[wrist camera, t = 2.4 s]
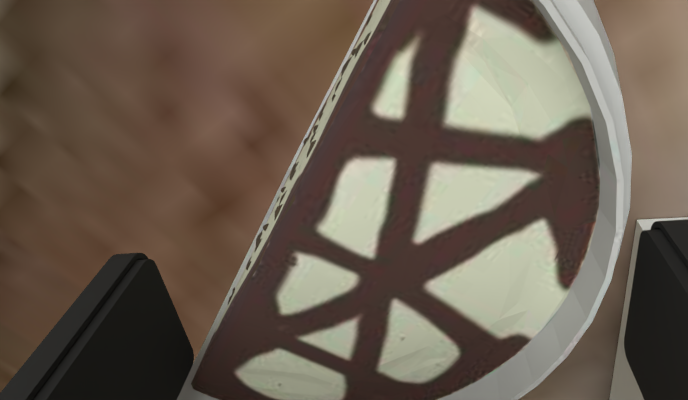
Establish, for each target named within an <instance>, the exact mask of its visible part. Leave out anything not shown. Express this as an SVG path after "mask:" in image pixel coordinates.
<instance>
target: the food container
mask: <svg viewBox="0 0 688 400" xmlns="http://www.w3.org/2000/svg"><path fill="white" fill-rule="evenodd" d="M631 164H632V152H631V146H630V140H629V134H628V128H627V122H626V116H625V110H624V104H623V98H622V93H621V87H620V82H619V77H618V72H617V67H616V61H615V56H614V53H613V50H612V47H611V45H610V42H609V40H608V37H607V34H606V32H605V29H604V27H603V24H602V21H601V19H600V16H599V14H598V11H597V8H596V6H595V3H594V1H593V0H374V1H373V3H372V5H371V7H370V9H369V11H368V13H367V15H366V17H365V19H364V21H363V23H362V25H361V27H360V29H359V31H358V33H357V35H356V37H355V39H354V41H353V43H352V45H351V47H350V49H349V50H348V52H347V54H346V56H345V58H344V60H343V62H342V64H341V66H340V68H339V70H338V72H337V74H336V76H335V78H334V80H333V82H332V84H331V86H330V88H329V90H328V92H327V94H326V96H325V98H324V100H323V102H322V104H321V106H320V108H319V110H318V112H317V114H316V115H315V117H314V119H313V121H312V123H311V125H310V127H309V129H308V131H307V133H306V135H305V137H304V139H303V141H302V143H301V145H300V147H299V149H298V151H297V153H296V155H295V157H294V159H293V161H292V163H291V165H290V167H289V169H288V171H287V173H286V175H285V177H284V179H283V181H282V183H281V185H280V187H279V189H278V191H277V193H276V195H275V197H274V199H273V202H272V204H271V206H270V208H269V210H268V212H267V214H266V216H265V218H264V220H263V222H262V224H261V226H260V228H259V230H258V232H257V234H256V236H255V239H254V241H253V243H252V245H251V247H250V249H249V251H248V253H247V255H246V257H245V259H244V261H243V263H242V265H241V267H240V269H239V271H238V273H237V276H236V278H235V280H234V282H233V284H232V286H231V288H230V290H229V292H228V294H227V296H226V298H225V300H224V302H223V304H222V306H221V308H220V310H219V313H218V315H217V317H216V319H215V321H214V323H213V325H212V327H211V329H210V331H209V333H208V335H207V337H206V339H205V341H204V343H203V345H202V348H201V350H200V352H199V354H198V356H197V357H196V359H195V361H194V363H193V365H192V368H191V370H190V372H189V375H188V377H187V379H186V381H185V383H184V385H183V387H182V390H181V392H180V394H179V396H178V398H177V400H518V399H520V398H521V397H523V396H524V395H525V394H527V393H528V392H530V391H531V390H532V389H534V388H535V387H537V386H538V385H539V384H540V383H541V382H542V381H543V380H544V379H545V378H546V377H547V376H548V375H549V374H550V373H551V372H552V371H553V370H554V369H555V368H556V367H557V366H558V365H559V364H560V363H561V362H562V361H563V360H564V359H565V358H566V357H567V356H568V355H569V354H570V352H571V351H572V349H573V348H574V347H575V345H576V344H577V342H578V341H579V340H580V338H581V337H582V335H583V334H584V333H585V331H586V330H587V328H588V327H589V326H590V324H591V323H592V321H593V319H594V317H595V315H596V312H597V310H598V308H599V306H600V304H601V302H602V299H603V297H604V295H605V293H606V291H607V289H608V286H609V284H610V282H611V280H612V275H613V271H614V267H615V263H616V260H617V258H618V255H619V251H620V247H621V243H622V239H623V235H624V230H625V226H626V222H627V218H628V214H629V210H630V191H631Z"/></svg>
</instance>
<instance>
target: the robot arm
mask: <svg viewBox="0 0 688 400" xmlns="http://www.w3.org/2000/svg"><path fill="white" fill-rule="evenodd" d="M624 349H625V354H626V358H627V361H628V363H629V366H630V368H631V370H632V373H633V375H634V377H635V379H636V382H637V384H638V386H639V389H640V391H641V393H642V396H643V398H644V400H688V219H684V220H668V221H656V222H654V223H653V224H652V226H651V229H650V230H644V231H642V232H641V234H640V238H639V245H638V251H637V258H636V264H635V271H634V277H633V284H632V290H631V297H630V304H629V310H628V317H627V323H626V330H625V336H624ZM193 360H194V354H193V349H192V347H191V344H190V342H189V340H188V337H187V335H186V333H185V330H184V328H183V326H182V324H181V321H180V319H179V317H178V314H177V312H176V310H175V307H174V305H173V303H172V300H171V298H170V296H169V293H168V291H167V289H166V286H165V284H164V282H163V280H162V277H161V275H160V273H159V270H158V268H157V266H156V264H155V262H154V261H153V260H151V259H148V257H147V256H146V255H145V254H143V253H129V254H116V255H113V256H112V257H111V258H110V259H109V260H108V261H107V262H106V264H105V265H104V266H103V267H102V269H101V270H100V271H99V272H98V274H97V275H96V276H95V277H94V278H93V280H92V281H91V282H90V283H89V285H88V286H87V287H86V288H85V289H84V291H83V292H82V293H81V294H80V296H79V297H78V298H77V299H76V301H75V302H74V303H73V304H72V305H71V307H70V308H69V309H68V310H67V312H66V313H65V314H64V315H63V317H62V318H61V319H60V320H59V321H58V323H57V324H56V325H55V326H54V328H53V329H52V330H51V331H50V333H49V334H48V335H47V336H46V337H45V339H44V340H43V341H42V342H41V344H40V345H39V346H38V347H37V349H36V350H35V351H34V352H33V353H32V355H31V356H30V357H29V358H28V360H27V361H26V362H25V363H24V365H23V366H22V367H21V368H20V369H19V371H18V372H17V373H16V374H15V376H14V377H13V378H12V379H11V381H10V382H9V383H8V384H7V385H6V387H5V388H4V389H3V390H2V392H1V393H0V400H177V398H178V396H179V394H180V392H181V390H182V387H183V385H184V383H185V381H186V379H187V377H188V375H189V372H190V370H191V368H192V365H193Z"/></svg>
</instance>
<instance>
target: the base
mask: <svg viewBox="0 0 688 400" xmlns="http://www.w3.org/2000/svg"><path fill="white" fill-rule="evenodd" d="M684 219H688V217H683V218H662V219H641V220H637V222H636V229H635V235H634V242H633V248H632V255H631V261H630V268H629V275H628V281H627V288H626V294H625V301H624V307H623V314H622V320H621V327H620V333H619V340H618V346H617V353H616V359H615V366H614V372H613V379H612V385H611V392H610V398H609V400H644V398H643V396H642V393H641V391H640V389H639V386H638V384H637V382H636V379H635V377H634V375H633V373H632V370H631V368H630V366H629V363H628V361H627V358H626V354H625V349H624V336H625V330H626V323H627V317H628V310H629V304H630V297H631V290H632V284H633V277H634V271H635V264H636V258H637V251H638V245H639V238H640V234H641V232H642V231H644V230H650V229H651V226H652V224H653V223H654V222H656V221H668V220H684Z"/></svg>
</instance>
